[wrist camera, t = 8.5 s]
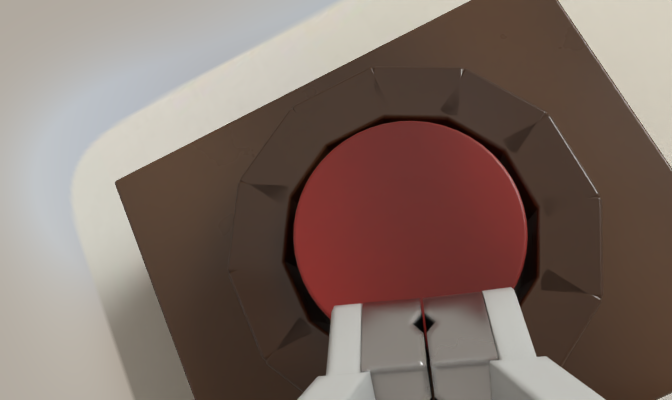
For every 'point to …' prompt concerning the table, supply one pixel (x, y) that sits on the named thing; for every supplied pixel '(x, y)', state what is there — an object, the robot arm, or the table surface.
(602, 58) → the table surface
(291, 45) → the table surface
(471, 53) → the brown push button box
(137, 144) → the table surface
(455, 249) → the button
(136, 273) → the table surface
